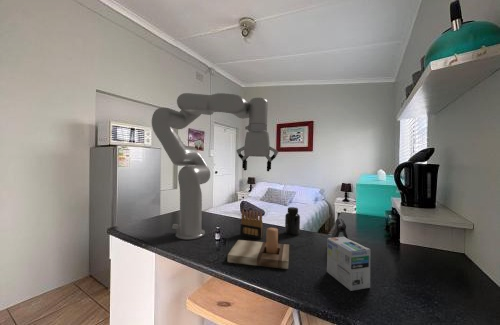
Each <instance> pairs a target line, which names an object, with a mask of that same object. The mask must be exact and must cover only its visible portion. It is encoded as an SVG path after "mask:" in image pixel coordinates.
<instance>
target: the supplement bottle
mask: <svg viewBox="0 0 500 325" xmlns="http://www.w3.org/2000/svg"><path fill="white" fill-rule="evenodd" d="M284 216H285V217H284V218H285V219H284V221H285V222H284V232H285V234H287V235H288V236H291V237H292V236H293V237H294V236H298V235H300V229H301V228H300V226H301V225H300V223H301V216H300V214H299V208H298V207H296V206H295V207H293V206H292V207H291V206H289V207H287V213H286V214H285V215H284Z"/></svg>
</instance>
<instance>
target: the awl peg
mask: <svg viewBox="0 0 500 325" xmlns="http://www.w3.org/2000/svg"><path fill="white" fill-rule="evenodd" d="M265 234H266V236H265V237H266V238H265V239H266V241H265V242H266V253H268V254H277V255H278V244H279V242H278V240H279V228H277V227H267V228H266V233H265Z"/></svg>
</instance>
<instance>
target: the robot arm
mask: <svg viewBox="0 0 500 325" xmlns="http://www.w3.org/2000/svg"><path fill="white" fill-rule="evenodd" d="M176 104H177V107H178V109H179V110H180V111H178V110H176V109H172V108H169V107H164V106H163V107H158V108H157V109H155V110H154V111H153V113H152V115H151V116H152V117H151V127H152V131H153V132H154V134H155V136H156V138H157V140H159V142H160V143H161V144H160V145H162V147H163V149H164V151H165V153H166V154H167V157H169V159H170V161H171V162H172V164H174V165H175V166H177V167H178V166H179V167H181V169H180V170H179V171H178V173H177V174H178V175H177V181H178V186H179V224H178V223H173V224H172V227H171V229H172V230H174V231H176V232H175V237H176V238H177V239H180V240H187V241H189V240H196V239H200V238H203V236H205V234H206V232H205V229H202V217H203V216H202V214H203V213H202V211H203V209H202V208H203V207H202V206H203V205H202V204H203V202H202V201H203V193H202V192H203V191H202V188H201V185H203V184H206V183H208V181H210V179H211V170H210V169H209V168H210V167H208V165H207V162H206V161H205V159H204V158H203V157H202V155H201V153H200V151H199V150H197V148H195V147H193V146H190V145H185V144H184V142H183V141H182V139H181V137H180V136H179V135H178V133H177V132H176V131H175V130H183V129H185V128H186V127H188V126H189V125H190V124H191V123H193V122H194V121H195V120H196V119H198V118H199V117H200V116H201V115H207V116H211V115H213V114H214V113H226V114H232V115H233V116H235V117H237V118H239V119H242V120H243V119H248V125H247V126H246V125H245V129H244V130H247V131H246V132H245V139H244V146H241V147H240V148H238V149H236V153H237V155H238V157H239V158H240V159H241V161H242V169H243V171H247V170H248V161H247V159H248V158H249V157H261V158H262V157H265V158H266V159H267V162H266V171H267V172H270V170H272V161H273V160H275V159H276V157H277V155H278V153H279V150H277V149H275V148H274V147H272V146H271V144H270V134H269V132H268V108H269V107H268V100H267V99H266V98H264V97H253V98H251V99H250V100H249V101H248V100H246V99H245V98H244V97H243V96H241V95H238V94H234V93H226V92H225V93H222V92H221V93H220V92H217V93H214V94H204V93H203V94H202V93H192V92H191V93H190V92H185V93H181V94H179V95H178V97H177V99H176ZM174 129H175V130H174ZM242 151H243V154H244V155H243V154H242ZM270 151H271V152H273V154H272V156H270Z"/></svg>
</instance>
